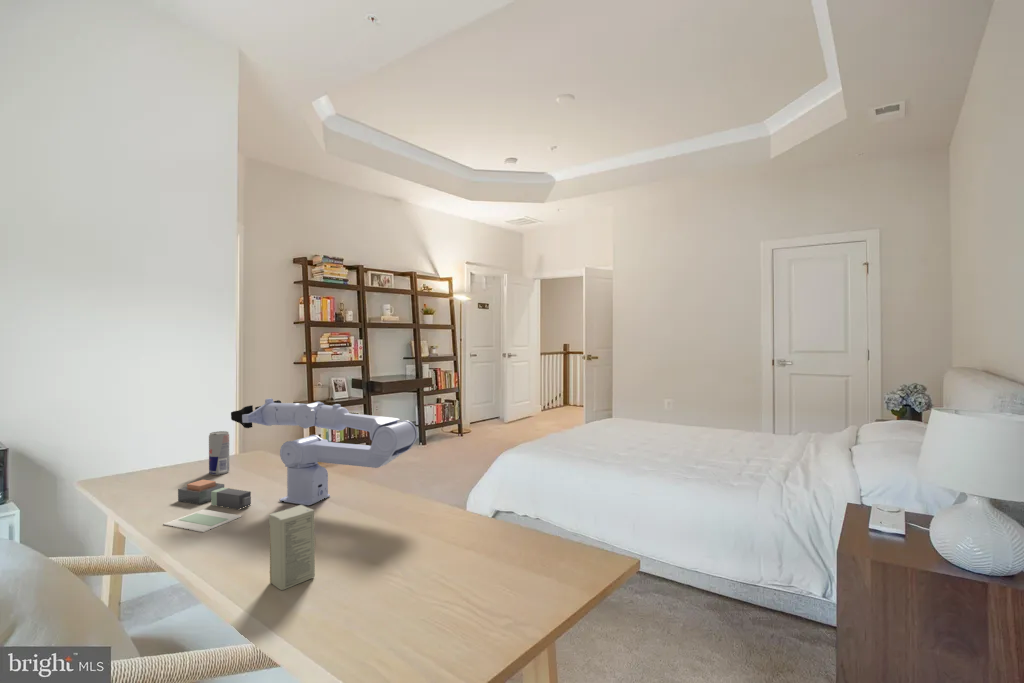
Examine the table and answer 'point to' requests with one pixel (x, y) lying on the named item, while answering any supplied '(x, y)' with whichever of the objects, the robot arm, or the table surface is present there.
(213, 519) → the paper sheet
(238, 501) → the block
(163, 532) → the table surface
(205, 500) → the button housing
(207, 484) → the button
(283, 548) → the skincare box
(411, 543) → the table surface
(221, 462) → the energy drink
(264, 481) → the table surface
